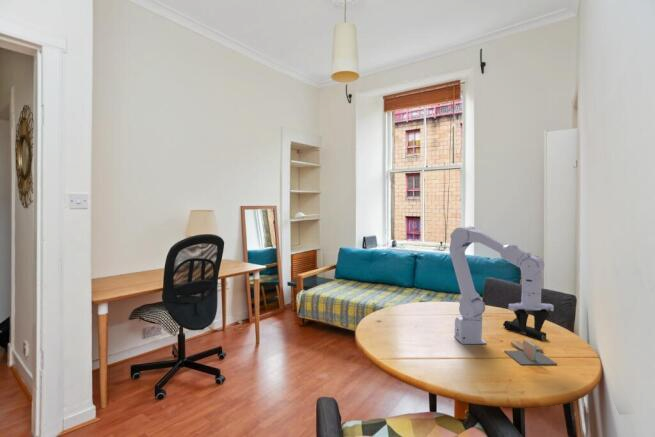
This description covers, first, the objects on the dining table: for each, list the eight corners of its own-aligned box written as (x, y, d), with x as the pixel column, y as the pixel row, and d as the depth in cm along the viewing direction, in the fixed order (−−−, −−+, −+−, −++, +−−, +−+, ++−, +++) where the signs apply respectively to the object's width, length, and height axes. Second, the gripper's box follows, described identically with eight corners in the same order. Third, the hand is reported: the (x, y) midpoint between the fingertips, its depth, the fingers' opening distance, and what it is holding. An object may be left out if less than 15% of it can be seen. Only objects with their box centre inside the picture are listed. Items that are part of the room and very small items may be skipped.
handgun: (556, 337, 136) (540, 342, 130) (514, 323, 150) (498, 327, 144) (557, 328, 135) (541, 333, 129) (515, 315, 150) (499, 319, 144)
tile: (532, 360, 112) (532, 345, 112) (523, 353, 117) (523, 339, 117) (535, 360, 112) (536, 345, 112) (526, 353, 117) (527, 339, 117)
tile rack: (521, 352, 119) (522, 349, 119) (510, 344, 126) (510, 341, 126) (543, 352, 120) (543, 349, 120) (530, 343, 127) (530, 341, 127)
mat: (521, 365, 110) (521, 363, 110) (504, 351, 120) (504, 350, 120) (556, 364, 110) (556, 363, 110) (537, 351, 120) (537, 350, 120)
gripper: (517, 295, 110) (516, 335, 110) (560, 294, 110) (559, 335, 111) (505, 289, 117) (504, 327, 117) (546, 289, 117) (544, 327, 118)
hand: (530, 331), depth 115 cm, fingers open, 4 cm apart
